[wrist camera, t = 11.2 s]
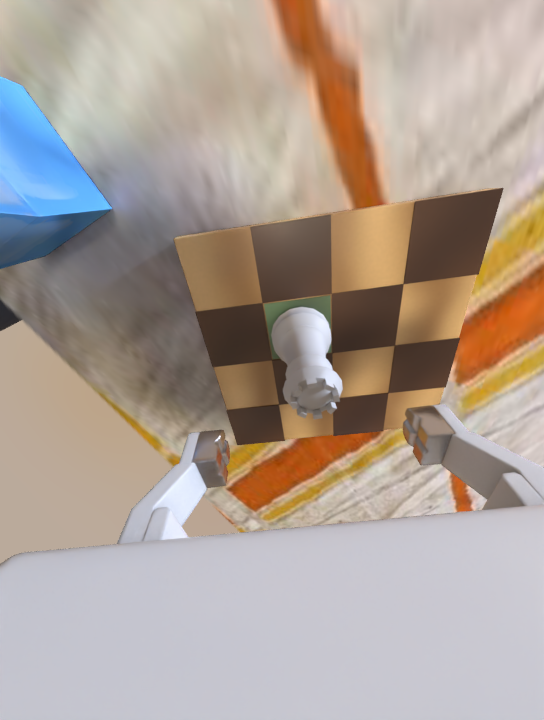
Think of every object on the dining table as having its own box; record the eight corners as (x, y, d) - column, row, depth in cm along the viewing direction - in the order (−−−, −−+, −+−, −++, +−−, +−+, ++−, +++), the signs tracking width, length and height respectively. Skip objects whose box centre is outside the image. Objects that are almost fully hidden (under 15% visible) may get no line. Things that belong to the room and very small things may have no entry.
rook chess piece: (340, 331, 20) (376, 400, 13) (298, 365, 22) (311, 443, 15) (301, 291, 18) (320, 349, 12) (259, 332, 20) (254, 403, 13)
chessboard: (238, 436, 28) (237, 445, 27) (177, 236, 17) (172, 238, 17) (428, 418, 27) (434, 426, 26) (490, 188, 16) (503, 187, 15)
